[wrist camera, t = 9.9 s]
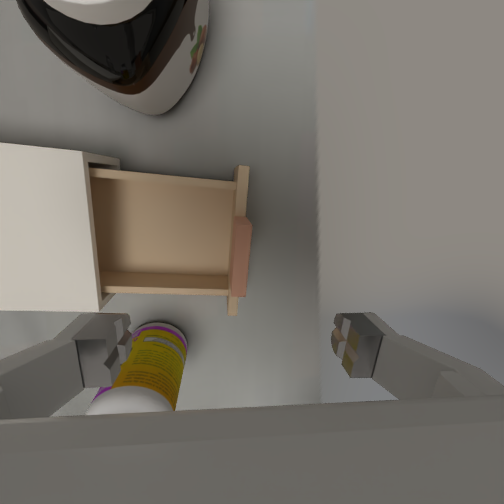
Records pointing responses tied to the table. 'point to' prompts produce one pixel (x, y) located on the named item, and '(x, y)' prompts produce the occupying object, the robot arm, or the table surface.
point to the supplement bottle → (146, 374)
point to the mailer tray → (172, 233)
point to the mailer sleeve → (49, 230)
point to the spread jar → (126, 45)
